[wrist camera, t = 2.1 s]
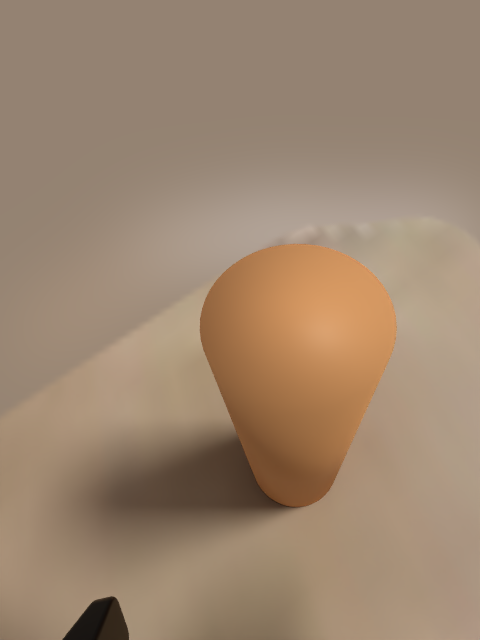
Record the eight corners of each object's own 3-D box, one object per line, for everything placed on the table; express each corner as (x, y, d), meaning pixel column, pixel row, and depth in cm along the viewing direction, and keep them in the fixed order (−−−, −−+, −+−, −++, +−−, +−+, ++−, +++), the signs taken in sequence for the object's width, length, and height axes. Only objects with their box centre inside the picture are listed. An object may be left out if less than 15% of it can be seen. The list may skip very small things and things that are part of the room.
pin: (354, 462, 19) (438, 315, 8) (294, 527, 18) (297, 457, 7) (293, 404, 21) (293, 218, 10) (235, 459, 20) (162, 319, 9)
